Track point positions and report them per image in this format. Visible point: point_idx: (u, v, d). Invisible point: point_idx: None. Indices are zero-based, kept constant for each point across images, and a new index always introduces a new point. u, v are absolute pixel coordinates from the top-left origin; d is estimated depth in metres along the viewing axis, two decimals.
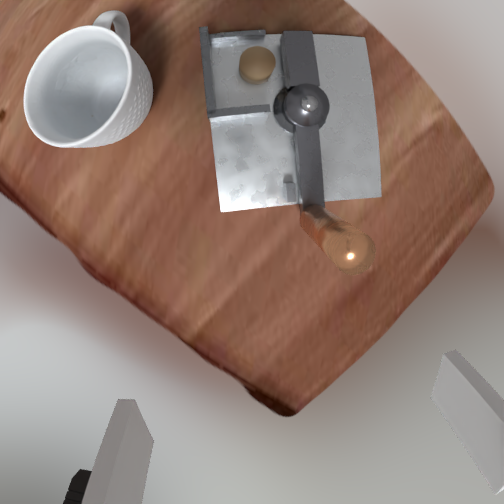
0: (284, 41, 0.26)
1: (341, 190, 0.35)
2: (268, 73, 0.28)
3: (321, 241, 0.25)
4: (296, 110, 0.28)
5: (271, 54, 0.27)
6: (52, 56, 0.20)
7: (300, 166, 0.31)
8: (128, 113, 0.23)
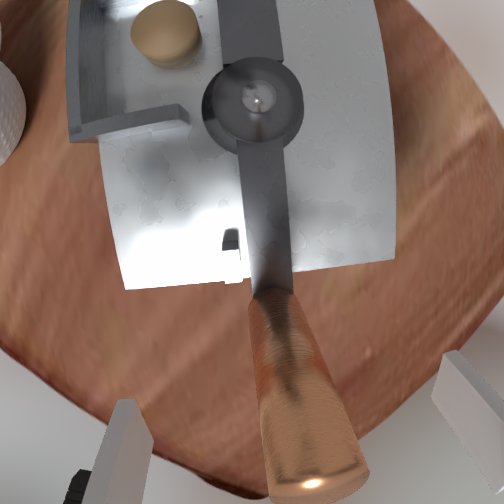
0: None
1: (327, 252, 0.21)
2: (181, 44, 0.13)
3: (260, 418, 0.11)
4: (233, 112, 0.14)
5: (189, 10, 0.13)
6: None
7: (246, 220, 0.17)
8: None
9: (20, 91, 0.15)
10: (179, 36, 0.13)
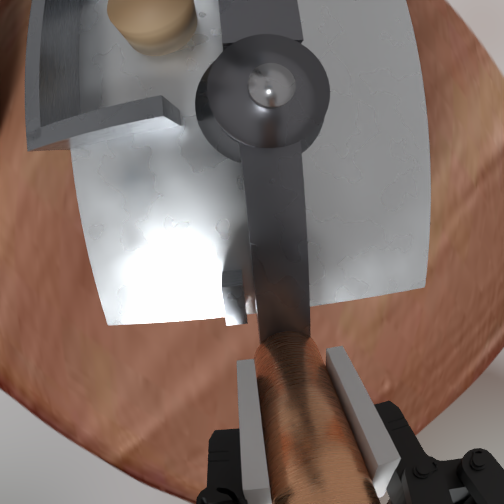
0: None
1: (349, 282, 0.17)
2: (173, 17, 0.09)
3: None
4: (237, 106, 0.10)
5: None
6: None
7: (253, 250, 0.13)
8: None
9: None
10: (170, 7, 0.09)
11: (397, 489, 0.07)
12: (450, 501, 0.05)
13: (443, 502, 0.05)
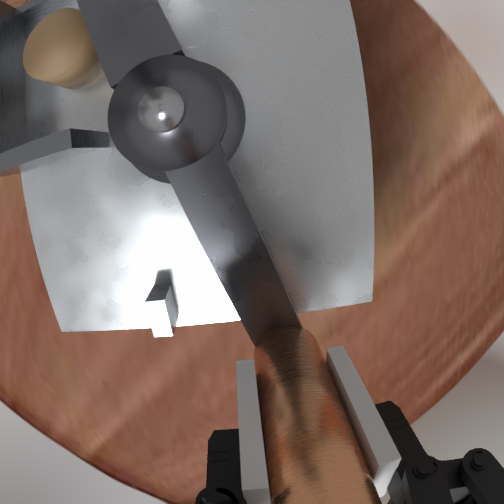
0: None
1: None
2: (73, 58, 0.10)
3: None
4: (140, 141, 0.10)
5: (79, 15, 0.09)
6: None
7: (213, 263, 0.13)
8: None
9: None
10: (70, 49, 0.09)
11: (398, 489, 0.07)
12: (451, 501, 0.05)
13: (444, 502, 0.05)
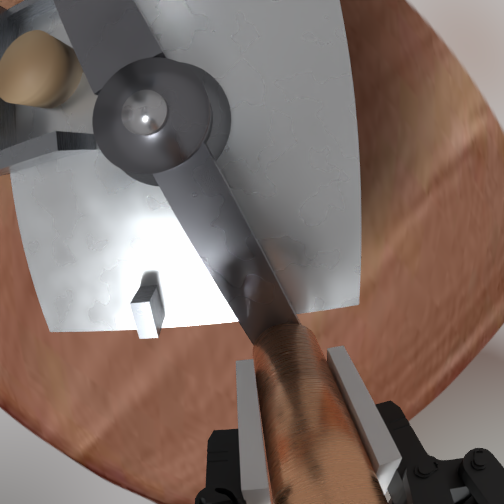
0: None
1: None
2: (40, 83, 0.10)
3: None
4: (126, 145, 0.10)
5: (47, 38, 0.09)
6: None
7: (206, 263, 0.13)
8: None
9: None
10: (37, 74, 0.09)
11: (398, 489, 0.07)
12: (451, 501, 0.05)
13: (444, 502, 0.05)
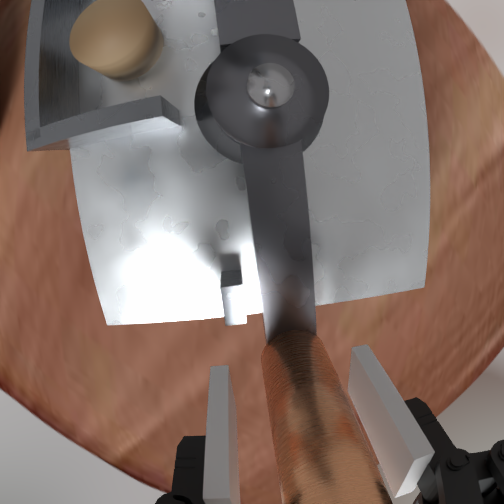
0: None
1: (348, 282, 0.17)
2: (131, 47, 0.10)
3: None
4: (236, 107, 0.10)
5: (138, 3, 0.09)
6: None
7: (257, 250, 0.13)
8: None
9: None
10: (127, 37, 0.10)
11: (430, 481, 0.07)
12: (479, 494, 0.05)
13: (473, 494, 0.05)
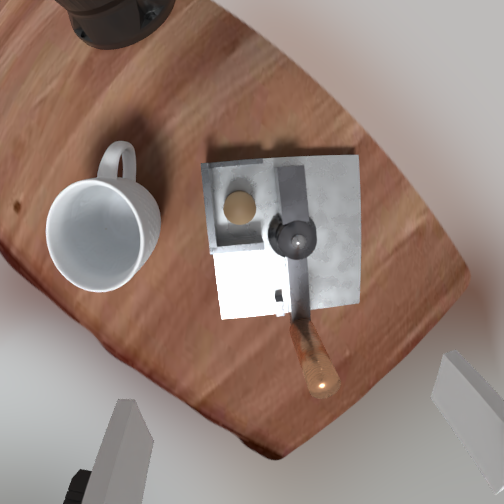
0: (277, 178, 0.34)
1: (324, 300, 0.42)
2: (250, 219, 0.35)
3: (302, 368, 0.32)
4: (287, 247, 0.35)
5: (251, 199, 0.34)
6: (66, 199, 0.27)
7: (290, 289, 0.38)
8: (142, 263, 0.30)
9: None
10: (248, 214, 0.35)
11: None
12: None
13: None
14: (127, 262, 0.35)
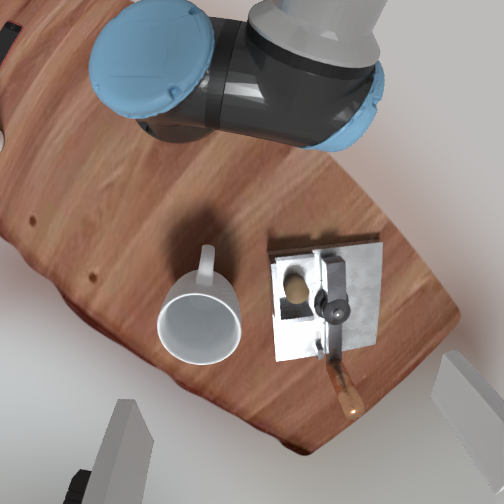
0: (326, 271, 0.46)
1: (350, 344, 0.54)
2: (304, 299, 0.47)
3: (339, 399, 0.44)
4: (330, 317, 0.48)
5: (306, 286, 0.47)
6: None
7: (329, 342, 0.51)
8: None
9: None
10: (303, 296, 0.47)
11: None
12: None
13: None
14: (210, 331, 0.48)
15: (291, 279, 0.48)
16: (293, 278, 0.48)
